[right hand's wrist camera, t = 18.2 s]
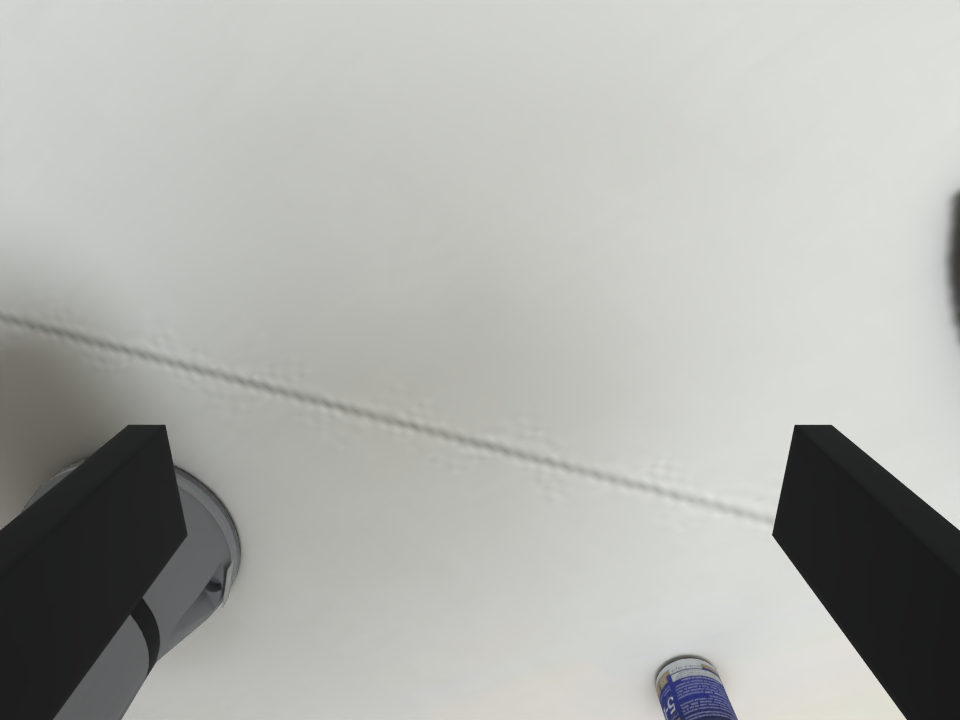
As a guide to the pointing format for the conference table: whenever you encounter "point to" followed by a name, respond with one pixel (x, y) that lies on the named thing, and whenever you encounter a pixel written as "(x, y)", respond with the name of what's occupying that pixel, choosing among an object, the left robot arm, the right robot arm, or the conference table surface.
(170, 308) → the conference table surface
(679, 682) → the pill bottle
